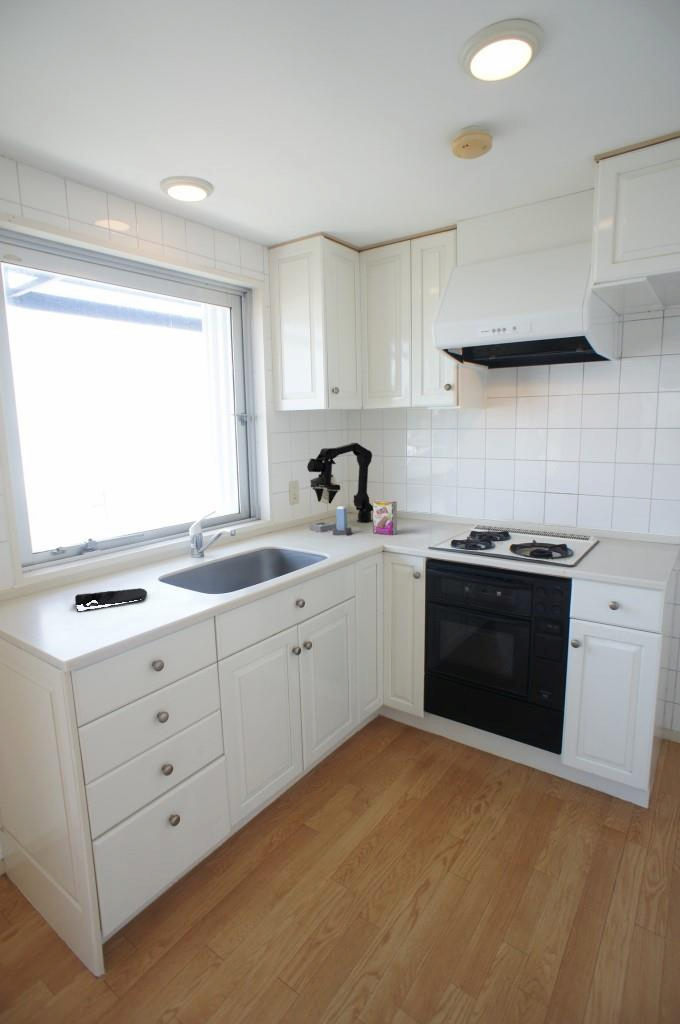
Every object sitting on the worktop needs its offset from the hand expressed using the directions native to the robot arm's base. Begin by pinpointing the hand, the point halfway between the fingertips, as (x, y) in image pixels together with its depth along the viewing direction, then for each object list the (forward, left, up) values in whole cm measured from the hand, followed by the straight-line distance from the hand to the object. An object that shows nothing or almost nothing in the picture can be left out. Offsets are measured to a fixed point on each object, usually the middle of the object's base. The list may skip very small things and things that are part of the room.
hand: (324, 502), depth 279 cm
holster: (0, +16, -14) cm, 21 cm away
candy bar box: (-17, +29, -14) cm, 37 cm away
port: (+2, 0, -14) cm, 14 cm away
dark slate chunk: (+114, +53, -15) cm, 126 cm away
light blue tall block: (0, +16, -14) cm, 21 cm away
